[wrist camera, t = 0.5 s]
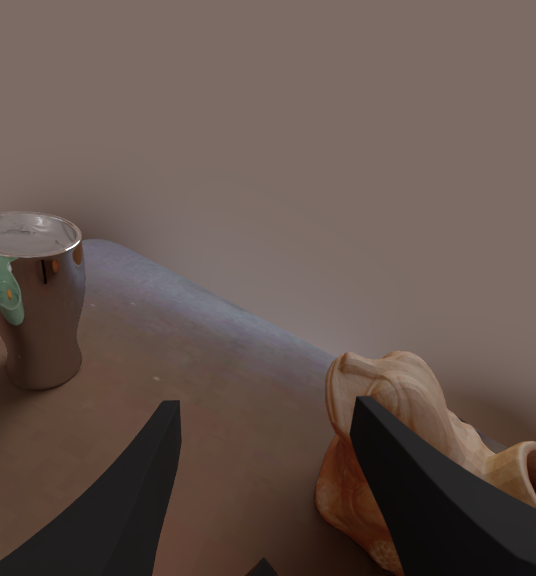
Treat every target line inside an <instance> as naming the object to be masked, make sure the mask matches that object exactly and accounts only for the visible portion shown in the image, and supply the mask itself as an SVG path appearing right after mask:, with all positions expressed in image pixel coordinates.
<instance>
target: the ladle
mask: <svg viewBox="0 0 536 576" xmlns="http://www.w3.org/2000/svg"><path fill="white" fill-rule="evenodd" d="M245 576H278V575H277V573H276V572H275V571H274V569H273V568H272V567H271V566H270V564H269V563H268V562H267V560H266V559H265V558H263V559H262V560H260V561H259V562H258V563H257V564H256V565H255V566H254V567H253V568H252V569H251V570H250V571H249V572H248V573H247V574H246V575H245Z"/></svg>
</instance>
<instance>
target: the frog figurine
mask: <svg viewBox="0 0 536 576" xmlns="http://www.w3.org/2000/svg"><path fill="white" fill-rule="evenodd" d="M356 396H371V397H372V398H374V399H375V400H376V401H377V402H379V403H380V404H381V405H382V406H383V407H384V408H386V409H387V410H388V411H389V412H390V413H392V414H393V415H394V416H395V417H396V418H397V419H399V420H400V421H401V422H402V423H403V424H405V425H406V426H407V427H408V428H410V429H411V430H412V431H413V432H415V433H416V434H417V435H418V436H420V437H421V438H422V439H423V440H425V441H426V442H427V443H429V444H430V445H431V446H433V447H434V448H436V449H437V450H438V451H440V452H441V453H442V454H444V455H445V456H447V457H448V458H450V459H451V460H453V461H454V462H456V463H457V464H459V465H460V466H462V467H463V468H465V469H466V470H468V471H469V472H471V473H473V474H474V475H476V476H477V477H479V478H481V479H482V480H484V481H486V482H488V483H489V484H491V485H493V486H495V487H496V488H498V489H500V490H502V491H503V492H505V493H507V494H509V495H511V496H513V497H514V498H516V499H518V500H520V501H522V502H524V503H526V504H528V505H530V506H532V507H534V508H536V442H534V441H527V442H520V443H518V444H516V445H514V446H512V447H510V448H508V449H506V450H504V451H502V452H500V453H499V454H494V453H493V452H491V451H490V450H489V449H488V448H487V447H486V446H485V445H484V444H483V442H482V440H481V439H480V437H479V435H478V433H477V432H476V431H475V430H474V428H473V427H472V426H470V425H468V424H466V423H463V422H461V421H460V420H459V419H458V418H457V417H456V415H455V414H453V413H452V412H451V411H449V410H448V409H447V407H446V402H445V398H444V394H443V392H442V390H441V387H440V385H439V383H438V381H437V379H436V377H435V376H434V374H433V372H432V371H431V369H430V368H429V366H428V365H427V364H426V363H425V362H424V361H423V360H422V359H421V358H420V357H418V356H417V355H415V354H413V353H411V352H406V351H394V352H391V353H389V354H387V355H386V356H384V357H383V358H381V359H378V360H373V359H367V358H364V357H362V356H359V355H357V354H355V353H352V352H347V353H345V354H344V355H341V356H340V357H338V358H337V359H336V360H334V361H333V362H332V364H331V366H330V368H329V370H328V372H327V376H326V380H325V400H326V407H327V411H328V415H329V419H330V422H331V424H332V426H333V428H334V430H335V432H336V434H337V435H336V436H335V438H334V439H333V441H332V442H331V444H330V446H329V448H328V450H327V452H326V455H325V458H324V461H323V463H322V467H321V470H320V474H319V478H318V481H317V484H316V488H315V495H314V498H315V505H316V507H317V509H318V511H319V513H320V515H321V516H322V517H323V519H324V520H325V521H326V522H327V523H328V524H330V525H331V526H333V527H335V528H337V529H338V530H340V531H342V532H344V533H345V534H346V535H347V536H348V537H350V538H351V539H352V540H353V541H355V542H356V543H357V544H358V545H359V546H361V547H362V548H363V549H364V550H365V551H366V552H367V553H368V554H369V555H370V556H371V558H372V559H373V560H374V561H375V562H376V563H377V564H378V565H379V566H380V567H381V568H382V569H385V570H388V571H389V572H390V573H392V574H393V575H394V576H405V575H404V572H403V569H402V566H401V563H400V560H399V557H398V555H397V552H396V549H395V546H394V543H393V541H392V538H391V535H390V532H389V530H388V527H387V525H386V523H385V520H384V518H383V516H382V514H381V511H380V509H379V507H378V505H377V503H376V500H375V498H374V496H373V494H372V492H371V489H370V487H369V485H368V483H367V481H366V479H365V476H364V474H363V472H362V470H361V467H360V465H359V463H358V461H357V458H356V455H355V452H354V449H353V446H352V442H351V439H350V436H349V433H350V428H351V422H352V417H353V411H354V406H355V400H356Z"/></svg>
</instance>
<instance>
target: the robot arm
mask: <svg viewBox="0 0 536 576" xmlns="http://www.w3.org/2000/svg"><path fill="white" fill-rule="evenodd" d="M349 436H350V439H351V442H352V446H353V449H354V452H355V455H356V458H357V461H358V463H359V465H360V467H361V470H362V472H363V474H364V476H365V479H366V481H367V483H368V485H369V487H370V489H371V492H372V494H373V496H374V498H375V500H376V503H377V505H378V507H379V509H380V511H381V514H382V516H383V518H384V520H385V523H386V525H387V527H388V530H389V532H390V535H391V538H392V541H393V543H394V546H395V549H396V552H397V555H398V557H399V560H400V563H401V566H402V569H403V572H404V575H405V576H536V508H534V507H532V506H530V505H528V504H526V503H524V502H522V501H520V500H518V499H516V498H514V497H513V496H511V495H509V494H507V493H505V492H503V491H502V490H500V489H498V488H496V487H495V486H493V485H491V484H489V483H488V482H486V481H484V480H482V479H481V478H479V477H477V476H476V475H474V474H473V473H471V472H469V471H468V470H466V469H465V468H463V467H462V466H460V465H459V464H457V463H456V462H454V461H453V460H451V459H450V458H448V457H447V456H445V455H444V454H442V453H441V452H440V451H438V450H437V449H436V448H434V447H433V446H431V445H430V444H429V443H427V442H426V441H425V440H423V439H422V438H421V437H420V436H418V435H417V434H416V433H415V432H413V431H412V430H411V429H410V428H408V427H407V426H406V425H405V424H403V423H402V422H401V421H400V420H399V419H397V418H396V417H395V416H394V415H393V414H392V413H390V412H389V411H388V410H387V409H386V408H384V407H383V406H382V405H381V404H380V403H379V402H377V401H376V400H375V399H374V398H372V397H371V396H356V400H355V406H354V411H353V417H352V422H351V428H350V433H349ZM181 442H182V441H181V420H180V400H175V401H163V402H162V403H161V404H160V405H159V406H158V408H157V409H156V411H155V412H154V414H153V415H152V416H151V418H150V419H149V420H148V422H147V423H146V424H145V426H144V427H143V428H142V430H141V431H140V432H139V433H138V435H137V436H136V437H135V438H134V440H133V441H132V442H131V443H130V444H129V446H128V447H127V448H126V449H125V450H124V451H123V452H122V454H121V455H120V456H119V457H118V458H117V459H116V460H115V461H114V463H113V464H112V465H111V466H110V467H109V468H108V469H107V470H106V471H105V472H104V473H103V474H102V475H101V476H100V477H99V478H98V479H97V480H96V481H95V482H94V483H93V484H92V485H91V486H90V487H89V488H88V489H87V490H86V491H85V492H84V493H83V494H82V495H81V496H80V497H79V498H77V499H76V500H75V501H74V502H73V503H72V504H71V505H70V506H69V507H68V508H66V509H65V510H64V511H63V512H62V513H61V514H59V515H58V516H57V517H56V518H55V519H54V520H52V521H51V522H50V523H49V524H47V525H46V526H45V527H44V528H42V529H41V530H40V531H39V532H37V533H36V534H35V535H34V536H32V537H31V538H30V539H29V540H27V541H26V542H25V543H24V544H22V545H21V546H20V547H18V548H17V549H16V550H14V551H13V552H12V553H10V554H9V555H8V556H6V557H5V558H3V559H2V560H1V561H0V576H152V573H153V567H154V561H155V556H156V550H157V546H158V542H159V537H160V533H161V529H162V525H163V522H164V518H165V514H166V510H167V506H168V503H169V499H170V495H171V491H172V487H173V484H174V480H175V476H176V472H177V468H178V461H179V455H180V448H181Z"/></svg>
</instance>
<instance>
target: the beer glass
mask: <svg viewBox="0 0 536 576" xmlns="http://www.w3.org/2000/svg"><path fill="white" fill-rule="evenodd" d="M81 238H82V235H81V231H80V230H79V229H78V227H77V226H76V225H74V224H73V223H71V222H70V221H68V220H66V219H63V218H61V217H58V216H54V215H50V214H45V213H39V212H29V211H28V212H27V211H15V212H14V211H12V212H3V213H0V336H1V338H2V340H3V341H4V343H5V346H6V349H7V360H6V375H7V378H8V379H9V381H10V382H11V383H12V384H14V385H15V386H17V387H19V388H22V389H26V390H44V389H49V388H53V387H56V386H58V385H61V384H63V383H65V382H66V381H68V380H69V379H71V378H72V377H73V376H74V375H75V374H76V373H77V372H78V370H79V368H80V366H81V364H82V354H81V350H80V348H79V345H78V342H77V328H78V323H79V319H80V315H81V311H82V307H83V302H84V295H85V281H86V276H85V262H84V254H83V247H82V239H81Z"/></svg>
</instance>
